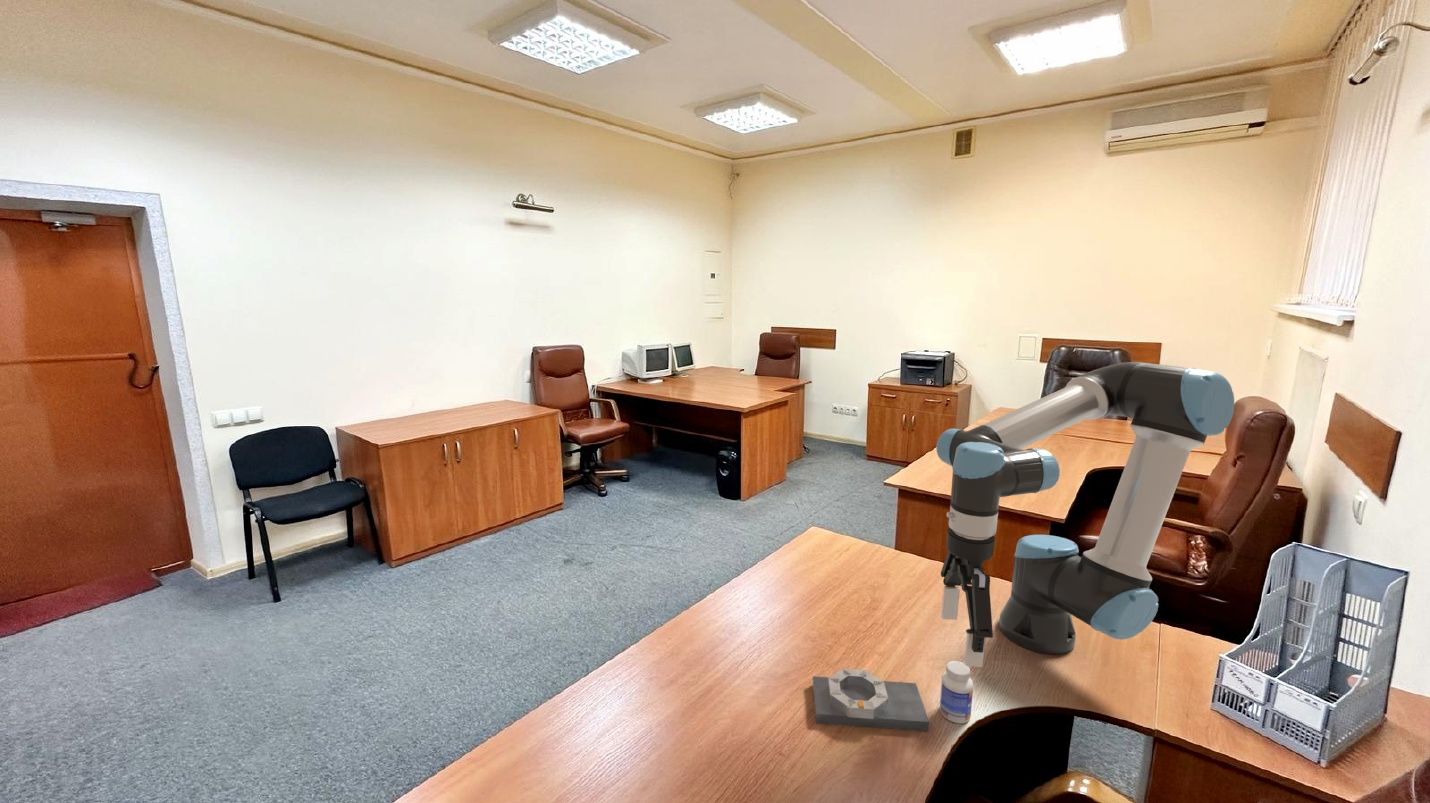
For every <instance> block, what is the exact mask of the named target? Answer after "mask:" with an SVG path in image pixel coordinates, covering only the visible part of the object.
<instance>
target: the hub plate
mask: <svg viewBox="0 0 1430 803" xmlns="http://www.w3.org/2000/svg"><path fill="white" fill-rule="evenodd" d="M812 693H813V705H814V716H815V724H822V725H823V724H825V725H837V726H847V727H848V726H849V727H850V726H851V727H862V728H863V727H864V728H878V729H887V730H889V729H891V730H903V731H915V732H927V733H928V732H929V729H930V720H929V717H928V714H927V712H926V709H925V705H924V703H923V699H922V696H921V694H920V692H919V688H918V685H917V683H916V682H905V681H890V680H882V679H880V678H878V676H875V675H874V674H872V673H871V672H869V671H867V670H865V669H854V668H842V669H840V670H838V671H837V672H835V673H833V674H832V675H830V676H829V677H828V676H815V675H814V676H812Z"/></svg>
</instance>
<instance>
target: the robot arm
mask: <svg viewBox="0 0 1430 803" xmlns="http://www.w3.org/2000/svg"><path fill="white" fill-rule="evenodd" d="M1234 394H1235V393H1234V392H1233V387H1232V385H1231V383H1230V382H1229V381H1228V379H1227V378H1226V377H1225V376H1224V375H1222V373H1221V374H1220V373H1218V372H1216V371H1212V370H1205V369H1200V368H1196V367H1186V366H1185V367H1184V366H1179V365H1178V366H1177V365H1176V366H1175V365H1167V364H1156V363H1148V362H1141V361H1127V362H1120V363H1114V364H1111V365H1110V364H1109V365H1107V366H1104V367H1100V368H1097V369H1093V370H1091V371H1088V372H1085V373H1083V374H1081V375H1078V376H1076V377H1074V378H1072V379H1071V380H1069V381H1068V382H1067V384H1066V385H1065V387H1063V388H1061V389H1059V390H1057V391H1055V392H1052V393H1050V394H1048V395H1045V396H1044V397H1042V398H1039V399H1036V400H1034V401H1032V402H1030V403H1028V404H1026V405H1023V406H1021V407H1019V408H1017V409H1015V410H1011V411H1010V412H1008V413H1006V414H1004V415H1000V416H998V417H997V418H995V419H993V420H990V421H988V422H986V423H983V424H981V425H979V426H976V427H974V428H971V429H970V430H964V429H962V428H959V429H958V428H949V429H947V430H945V431H944V432H943V433H941V434H940V436H939V437H938V439H937V442H936V448H935V449H936V454H937V456H938V458H939V460H940V461H941V462H943V463H945V464H946V465H949V467H952V469H951V470H952V476H951V478H952V480H951V492H950V502H949V503H950V506H949V511H947V512H946V517H947V518H948V527H949V528H948V529H947V534H946V535H947V536H946V546H945V547H946V549H947V553H946V556H945V559H944V562H943V565H942V567H941V570H940V576H941V578H943V580H942V582H943V585H944V586H943V595H942V606H941V614H940V615H941V617H940V618H941V619H942V620H952V621H953V620H954V621H956V620H957V621H958V616H959V615H958V614H959V604H960V603H959V602H960V593H961V590H962V591H963V592H964V593H965V599H966V601H965V602H966V606H967V614H968V622H969V628H966V630H965V632H966V641H965V642H966V643H965V651H964V652H965V653H964V662H963V663H964V664H965V665H966V666H968V667H977V668H978V667H979V668H982V667H983V665H984V664H983V663H984V656H985V655H984V654H985V646H986V639H987V638H988V639H993V636H994V632H993V630H994V629H993V618H992V617H993V616H992V605H991V592H990V590H991V588H990V586H991V576H990V574H987V573H985V572H984V567H983V563H984V562H985V561H987V560H990V559H991V558H993V556H994V551H995V544H996V543H995V542H996V536H995V535H996V533H997V526H998V517H999V505H1000V498H1006V497H1009V496H1020V495H1026V494H1037V493H1039V492H1041V491H1042V492H1043V491H1046V490H1049V489H1052V488H1053V487H1055V485H1056V484H1057V483H1058V481H1059V479H1060V476H1061V475H1060V473H1061V472H1060V465H1059V462H1058V460H1057V459H1056V457H1055V456H1054V455H1053V454H1052V453H1051V452H1050V451H1048V450H1046V449H1043V448H1032V447H1031V448H1028V447H1029V446H1031V445H1033V444H1035V443H1037V442H1039V441H1042V440H1043V439H1046V438H1048V437H1050V436H1052V435H1055V434H1057V433H1059V432H1062V431H1064V430H1065V429H1068V428H1070V427H1072V426H1074V425H1077V424H1079V423H1080V422H1082V421H1085V420H1089V421H1093V420H1098V419H1101V418H1103V417H1106V416H1118V417H1119V416H1120V417H1125V418H1129V419H1132V420H1131V422H1130V426H1129V427H1130V428H1131V430H1132V431H1133V434H1134V435H1135V438H1134V440H1133V444H1132V446H1131V449H1130V453H1129V454H1128V458H1127V460H1126V463H1125V465H1124V469H1123V471H1122V473H1121V477H1120V479H1119V482H1118V485H1117V487H1116V490H1115V492H1114V495H1113V498H1112V501H1111V503H1110V506H1109V509H1108V511H1107V514H1106V516H1105V520H1104V522H1103V525H1102V528H1101V531H1100V533H1099V536H1098V539H1097V541H1096V543H1095V547H1093V548H1090V549H1089V550H1085V551H1083V553H1082V555H1081V556H1079V553H1080V552H1079V551H1080V550H1079V546H1078V544H1077V543H1075V541H1073V540H1071V539H1068V538H1066V537H1061V536H1056V535H1049V534H1029V535H1026V536H1023V537H1021V538H1019V540H1018V541H1017V543H1016V548H1015V553H1014V554H1013V556H1014V558H1013V559H1014V560H1013V567H1012V568H1013V570H1012V578H1011V579H1012V580H1011V591H1010V596H1009V597H1008V600H1007V601H1006V603H1005V604H1004V607H1003V608H1002V610H1001V612H1000V614H999V619H998V620H999V621H998V626H999V629H1000V631H1001V632H1002V634H1003V635H1004V636H1005V637H1006V638H1008V639H1009V640H1011V642H1014V643H1015V645H1019V646H1021V647H1022V648H1025V649H1028V650H1030V651H1032V652H1033V651H1034V652H1037V653H1041V654H1048V655H1049V654H1050V655H1061V654H1066V653H1069V652H1071V651H1072V650H1073V649H1074V647H1075V645H1076V639H1077V638H1076V637H1077V634H1076V630H1075V626H1074V622H1073V618H1072V616H1073V617H1074V618H1076V619H1078V620H1080V621H1081V622H1083V623H1085V624H1087V625H1088V626H1089V627H1091V628H1092V629H1093V630H1095V631H1097V632H1100V633H1102V634H1104V635H1107V636H1108V637H1110V638H1112V639H1115V640H1121V641H1122V640H1128V639H1131V638H1134V637H1136V636H1138V635H1139V634H1140V633H1142V632H1143V631H1145V630H1146V628H1148V626H1150V624H1151V623H1152V622H1153V620H1154V618H1155V617H1156V614H1157V612H1158V610H1159V609H1158V608H1159V603H1158V602H1159V597H1158V595H1157V594H1156V593H1155V592H1154V591H1153V590H1152V589H1151V588H1150V585H1151V583H1152V581H1153V577H1152V575H1151V574H1150V573H1149V571H1148V568H1147V565H1148V563H1149V561H1150V558H1151V555H1152V552H1153V549H1154V547H1155V544H1156V541H1157V539H1158V537H1159V535H1160V532H1161V529H1162V526H1163V523H1164V522H1165V519H1166V515H1167V512H1168V510H1169V508H1170V504H1171V503H1172V500H1173V498H1174V494H1175V492H1176V489H1177V487H1178V484H1179V481H1180V479H1181V477H1182V474H1183V471H1184V468H1185V466H1186V463H1187V461H1188V458H1189V455H1190V453H1191V451H1192V450H1195V449H1197V448H1199V447H1202V446H1204V445H1205V443H1206V440H1207V437H1208V436H1209V437H1211V436H1218V435H1220V434H1222V433H1223V432H1224V431H1225V429H1226V428H1228V427H1229V425H1230V423H1231V421H1232V419H1233V415H1234V411H1235V410H1234V409H1235V395H1234ZM1024 448H1025V449H1024ZM1026 448H1027V449H1026ZM960 587H961V588H960Z"/></svg>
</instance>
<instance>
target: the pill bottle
mask: <svg viewBox="0 0 1430 803" xmlns="http://www.w3.org/2000/svg"><path fill="white" fill-rule="evenodd" d="M945 668H946V669H945V671H944V672H943V673H942V675H941V685H940V701H939V711H940V714H941V715H942V717H944V718H945V719H946V720H948V721H950V722H952V723H956V724H965V723H967V722H969V720H970V719H971V717H972V716H971V714H972V707H973V706H972V704H973V693H974V682H973V680H972V679H971V670H970V666H966V665H965V663H964V662H961V661H958V660H950V661H949V662H947V663H946V667H945Z"/></svg>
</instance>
